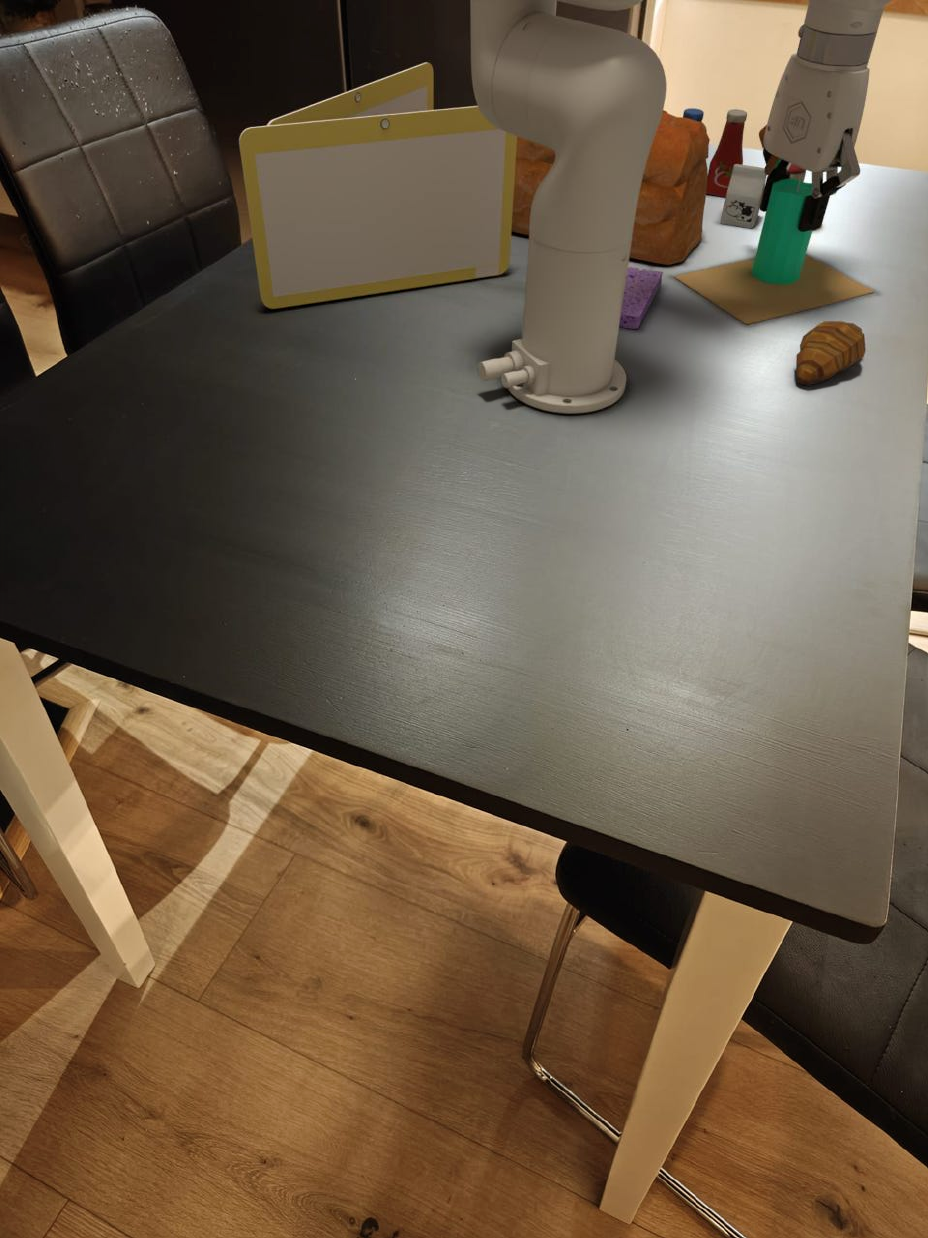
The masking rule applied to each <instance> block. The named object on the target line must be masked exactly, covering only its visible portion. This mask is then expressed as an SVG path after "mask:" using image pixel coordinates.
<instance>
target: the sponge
mask: <svg viewBox="0 0 928 1238" xmlns="http://www.w3.org/2000/svg"><path fill="white" fill-rule="evenodd" d="M663 274H664V272H663V271H660V270H652V269H646V268H644V269H641V270H640V269H639V268H638V267H632V266H628V269H627V276H626V283H625V290H624V296H623V303H622V310H621V317H620V324H619V327H621V328H624V329H631V330H632V329H633V330H636V329H639V327H640V325H641V323H642V321H643V320H644V318H645V315H646V313H647V312H648V310H649V308H650V306H651V304H652V301H654V298H655V297H656V295H657V293H658V291H659V289H660V286H661V285H662V280H663Z"/></svg>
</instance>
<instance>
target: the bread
mask: <svg viewBox="0 0 928 1238" xmlns="http://www.w3.org/2000/svg"><path fill="white" fill-rule="evenodd" d="M702 123H703V121H702V122H698V121H695V120H692V119H689V118H683V116H682V117H681V116H676V115H673V114H670V113H668V112H667V113H662V116H661V119H660V123H659V126H658V128H657V131H656V134H655V137H654V140H653V143H652V146H651V149H650V152H649V156H648V159H647V162H646V166H645V170H644V174H643V178H642V182H641V187H640V192H639V197H638V203H637V208H636V214H635V221H634V227H633V234H632V242H631V249H630V256H629V259H635V260H640V261H644V262H649V263H655V264H662V265H666V266H670V265H674V264H677V263H681V262H684V260H686V258H687V257H688V256H689V254H690V253H691V252H692V251H693V249H694V248H696V246H697V245H698V244H699V243H700V242H701V240H702V237H703V236H702V234H703V222H704V212H705V211H704V210H705V204H706V197H707V193H706V188H707V179H708V171H709V168H708V163H707V159H708V158H709V150H710V149H709V147H710V142H711V141H710V137H709V135H708V132H707V133H706V130H705V128H704V126H703V124H704V123H703V124H702ZM554 161H555V151H554V150H552V149H549V148H547V147H544V146H543V145H540V144H537V143H535V142H532V141H529V140H526V139H523V138H520V137H517V147H516V163H515V180H514V196H513V213H512V229H511V232H513V233H517V234H521V235H525V236H529V233H530V232H529V225H530V213H531V206H532V202H533V198H534V195H535V193H536V191H537V189H538V187H539V185H540V184H541V182H542V181H543V179H544V178H545V176H546V175H547V173H548V172H549V170H550V169H551V167H552V165H553V163H554Z"/></svg>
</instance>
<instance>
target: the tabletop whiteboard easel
mask: <svg viewBox="0 0 928 1238" xmlns="http://www.w3.org/2000/svg"><path fill="white" fill-rule="evenodd" d="M434 75H435V74H434V67H433V65H432V63H430V62H428V61H427V62H422V63H420V64H416V65H415V66H412V67H409V68H407V69H404V70H402V71H398V72H396V73H393V74H391V75H388V76H385V77H383V78H379V79H377V80H375V81H372V82H369V83H367V84H363V85H361V86H359V87H356V88H353V89H350V90H348V91H345V92H343V93H342V92H341V93H340V94H338V95H335V96H332V97H329V98H327V99H323V100H320V101H318V102H316V103H314V104H310V105H308V106H305V107H302V108H299V109H296V110H294V111H291V112H289V113H286V114H284V115H281V116H279V117H276V118H273V119H271V120H269V121H268V122H267V124H266V125H261V126H260V125H259V126H249V127H247V128H245V129H244V130H242V132H241V133H240V135H239V139H238V145H239V153H240V159H241V161H240V162H241V167H242V174H243V182H244V189H245V196H246V202H247V203H246V204H247V210H248V217H249V223H250V224H249V225H250V231H251V238H252V245H253V252H254V253H253V254H254V260H255V267H256V273H257V274H256V275H257V280H258V281H257V282H258V288H259V296H260V300H261V302H262V304H263V305H264V306H265V307H266V308H268V309H271V310H276V309H282V308H283V309H284V308H288V307H289V308H290V307H296V306H302V305H309V304H316V303H322V302H330V301H336V300H343V299H349V298H355V297H363V296H368V295H376V294H381V293H387V292H395V291H400V290H409V289H416V288H422V287H427V286H435V285H443V284H448V283H455V282H462V281H468V280H474V279H480V278H487V277H495V276H500V275H502V274H504V273H505V272H506V271H507V270H508V269H509V266H510V260H511V259H510V258H511V244H512V231H511V229H512V213H513V196H514V180H515V163H516V147H517V136H514V135H512V134H509V133H507V132H505V131H502V130H500V129H498V128H496V127H495V126H493V125H492V124H491V123H489V122H488V121H487V120H486V119H485V117H484V116H483V115H482V113H481V111H480V109H479V107H478V105H473V106H472V105H471V106H461V107H452V108H451V107H450V108H443V109H442V108H441V109H440V108H439V109H434V102H435V101H434V100H435V98H434V95H435V94H434V92H435V91H434V88H435V87H434V85H435V84H434V83H435V82H434V81H435V79H434V78H435V77H434Z"/></svg>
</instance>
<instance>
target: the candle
mask: <svg viewBox="0 0 928 1238" xmlns="http://www.w3.org/2000/svg"><path fill="white" fill-rule="evenodd" d="M801 178H802V173H801V177H800V180H796V179H793V178H791V179H783V180H779V181H777V182H775V183H773V186H772V190H771V194H770V199H769V203H768V207H767V211H766V212H765V214H764V219H763V222H762V223H763V224H762V227H761V231H760V234H759V239H758V244H757V248H756V251H755V255H754V258H755V259H754V263H753V267H752V272H751V274H752V275H754V276H755V277H756V278H757V279H759V280H762V281H764V282H767V283H773V284H780V285H781V284H792V283H794V282H796V281H797V280H799V276H800V273H801V269H802V266H803V262H804V259H805V255H806V254H807V252H808V247H809V245H810V241H811V238H812V234H813V231H814V230H810V231H805V232H801V231H799V230H798V225H799V221H800V217H801V214H802V210H803V206H804V203H805V199H806V197H807V196H809V195H812V182H805V181H804V182H802V181H801Z"/></svg>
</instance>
